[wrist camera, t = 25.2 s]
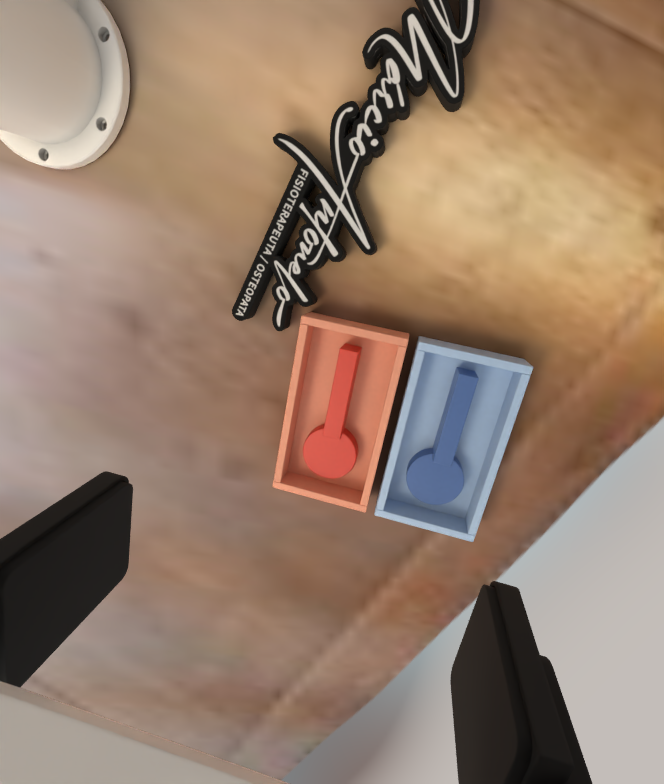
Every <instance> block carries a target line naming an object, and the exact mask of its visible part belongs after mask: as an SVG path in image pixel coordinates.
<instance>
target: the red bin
mask: <svg viewBox="0 0 664 784" xmlns="http://www.w3.org/2000/svg"><path fill="white" fill-rule="evenodd" d="M408 341H409V333H404V332H400V331H395V330H391V329H386V328H382V327H377V326H373V325H368V324H363V323H359V322H354V321H350V320H345V319H341V318H336V317H332V316H327V315H323V314H318V313H314V312H309V313H307V314H304V315H302V316H301V324H300V328H299V334H298V340H297V346H296V352H295V358H294V363H293V369H292V375H291V381H290V387H289V393H288V399H287V405H286V411H285V416H284V422H283V428H282V434H281V440H280V446H279V452H278V458H277V464H276V469H275V475H274V481H273V487H274V488H277V489H281V490H285V491H288V492H292V493H296V494H299V495H303V496H306V497H310V498H314V499H317V500H321V501H325V502H328V503H332V504H336V505H339V506H343V507H347V508H350V509H354V510H358V511H361V512H366V509H367V505H368V501H369V497H370V493H371V489H372V485H373V481H374V477H375V473H376V469H377V465H378V461H379V457H380V453H381V449H382V445H383V441H384V437H385V433H386V429H387V425H388V421H389V417H390V413H391V409H392V405H393V401H394V397H395V393H396V389H397V385H398V381H399V377H400V373H401V369H402V365H403V361H404V357H405V353H406V349H407V345H408ZM345 343H346V344H350V345H355V346H359V347H362V350H361V355H360V359H359V364H358V369H357V373H356V378H355V383H354V387H353V392H352V397H351V401H350V406H349V411H348V415H347V420H346V425H345V428H346V429H347V430H349V431H350V432H351V433H352V434H353V436H354V437H355V439H356V441H357V445H358V456H357V459H356V462H355V465H354V467H353V468H352V470H351V471H350V472H349V473H348V474H346V475H344V476H342V477H339V478H335V479H329V478H324V477H321V476H319V475H317V474H315V473H314V472H313V471H311V470H310V469H309V467H308V466H307V464H306V463H305V460H304V457H303V445H304V442H305V440H306V438H307V437H308V435H309V434H310V432H311V431H312V430H313V429H314V428H316V427H318V426H320V425H322V424H325V420H326V415H327V410H328V405H329V400H330V395H331V390H332V385H333V380H334V375H335V370H336V365H337V360H338V354H339V349H340V348H341V347H342V346H343V345H344V344H345Z"/></svg>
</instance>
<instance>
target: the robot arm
mask: <svg viewBox="0 0 664 784" xmlns="http://www.w3.org/2000/svg"><path fill="white" fill-rule="evenodd" d="M129 94H130V69H129V64H128V58H127V53H126V48H125V45H124V42H123V39H122V37H121V34H120V31H119V29H118V27H117V25H116V23H115V21H114V19H113V17H112V15H111V13H110V12H109V11H108V9H107V8H106V7H105V5H104V4H103V3H102V1H101V0H0V139H1V141H2V142H3V143H5V144H6V145H7V146H8V147H9V148H10V149H11V150H12V151H13V152H15V153H16V154H18V155H19V156H21V157H23V158H24V159H26V160H28V161H30V162H33V163H36V164H38V165H41V166H45V167H49V168H54V169H74V168H78V167H83V166H85V165H87V164H89V163H91V162H93V161H95V160H96V159H97V158H99V157H100V156H101V155H102V154H103V153H104V152H106V151H107V149H108V148H109V147H110V145H111V144H112V143H113V142H114V140H115V139H116V137H117V135H118V133H119V131H120V129H121V127H122V125H123V122H124V119H125V115H126V112H127V108H128V102H129ZM132 495H133V487H132V485H131V484H129V481H128V478H127V477H125V476H122V475H118V474H114V473H111V472H103V473H101V474H99V475H98V476H96V477H95V478H93V479H92V480H90V481H89V482H87V483H85V484H84V485H82V486H81V487H79V488H78V489H76V490H75V491H73V492H72V493H70V494H69V495H67V496H66V497H64V498H63V499H61V500H59V501H58V502H56V503H55V504H53V505H52V506H50V507H49V508H47V509H46V510H44V511H43V512H41V513H40V514H38V515H37V516H35V517H33V518H32V519H30V520H29V521H27V522H26V523H24V524H23V525H21V526H20V527H18V528H17V529H15V530H14V531H12V532H11V533H9V534H7V535H6V536H4V537H3V538H1V539H0V784H289V783H286V782H283V781H281V780H278V779H275V778H273V777H270V776H267V775H264V774H262V773H259V772H256V771H253V770H251V769H248V768H245V767H242V766H240V765H237V764H234V763H231V762H228V761H226V760H223V759H220V758H217V757H215V756H212V755H209V754H206V753H203V752H201V751H198V750H195V749H192V748H189V747H187V746H184V745H181V744H178V743H175V742H173V741H170V740H167V739H164V738H161V737H159V736H156V735H153V734H150V733H147V732H145V731H142V730H139V729H136V728H133V727H131V726H128V725H125V724H122V723H119V722H117V721H114V720H111V719H108V718H105V717H102V716H99V715H97V714H94V713H91V712H88V711H85V710H82V709H79V708H77V707H74V706H71V705H68V704H65V703H62V702H59V701H57V700H54V699H51V698H48V697H45V696H42V695H40V694H37V693H34V692H31V691H28V690H25V689H22V688H20V687H21V686H22V685H23V684H24V683H25V682H26V681H27V680H28V679H29V677H30V676H31V675H32V674H33V673H34V672H35V671H36V670H37V669H38V668H39V667H40V666H41V665H42V664H43V663H44V662H45V661H46V659H47V658H48V657H49V656H50V655H51V654H52V653H53V652H54V651H55V650H56V649H57V648H58V647H59V646H60V645H61V644H62V642H63V641H64V640H65V639H66V638H67V637H68V636H69V635H70V634H71V633H72V632H73V631H74V630H75V629H76V628H77V627H78V626H79V624H80V623H81V622H82V621H83V620H84V619H85V618H86V617H87V616H88V615H89V614H90V613H91V612H92V611H93V610H94V609H95V607H96V606H97V605H98V604H99V603H100V602H101V601H102V600H103V599H104V598H105V597H106V596H107V595H108V594H109V593H110V592H111V591H112V589H113V588H114V587H115V586H116V585H117V584H118V583H119V582H120V581H121V580H122V579H123V577H124V576H125V574H126V572H127V569H128V563H129V546H130V529H131V512H132ZM451 693H452V706H453V718H454V731H455V743H456V755H457V768H458V780H459V784H592V781H591V778H590V775H589V772H588V769H587V767H586V764H585V760H584V758H583V755H582V752H581V749H580V746H579V743H578V740H577V737H576V734H575V731H574V728H573V725H572V722H571V720H570V716H569V713H568V710H567V707H566V704H565V702H564V699H563V696H562V693H561V690H560V687H559V684H558V681H557V678H556V675H555V672H554V669H553V666H552V664H551V662H550V660H549V659H548V658H547V657H545V656H541V655H539V651H538V648H537V645H536V642H535V639H534V636H533V633H532V630H531V626H530V623H529V620H528V617H527V614H526V610H525V608H524V604H523V601H522V598H521V595H520V591H519V589H518V588H517V587H513V586H510V585H507V584H503V583H499V582H496V581H492V582H491V584H490V586H487V585H483V586H482V588H481V590H480V593H479V595H478V598H477V601H476V604H475V606H474V609H473V612H472V614H471V617H470V620H469V623H468V625H467V628H466V631H465V634H464V637H463V639H462V642H461V645H460V647H459V650H458V653H457V656H456V658H455V661H454V664H453V667H452V671H451Z"/></svg>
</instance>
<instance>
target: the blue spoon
mask: <svg viewBox="0 0 664 784" xmlns="http://www.w3.org/2000/svg"><path fill="white" fill-rule="evenodd" d="M478 380H479V378H478V376H477V374H476V372H475V371H472V370H468V369H464V368H460V367H456V370H455V374H454V377H453V380H452V384H451V387H450V391H449V394H448V397H447V401H446V404H445V407H444V411H443V414H442V418H441V421H440V424H439V428H438V431H437V435H436V438H435V441H434V445H433V448H427V449H424V450H421V451H419V452H418V453H416V454H415V455H414V456H413V457H412V458H411V459H410V461H409V463H408V466H407V472H406V482H407V486H408V489H409V490H410V492H411V493H412V495H413V496H414V497H416V498H417V499H418V500H420V501H421V502H424V503H426V504H430V505H442V504H446V503H449V502H451V501H452V500H454V499H455V498H456V497H457V496H458V495H459V494H460V493H461V491H462V489H463V486H464V474H463V469H462V466H461V463H460V462H459V460H458V459H457V458H456V457H455V453H456V450H457V447H458V444H459V441H460V437H461V434H462V431H463V428H464V425H465V422H466V418H467V415H468V412H469V409H470V406H471V402H472V399H473V396H474V393H475V390H476V387H477V383H478Z"/></svg>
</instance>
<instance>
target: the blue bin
mask: <svg viewBox="0 0 664 784" xmlns="http://www.w3.org/2000/svg"><path fill="white" fill-rule="evenodd" d="M456 367H460V368H464V369H468V370H472V371H475V372H476V374H477V376H478V378H479V380H478V383H477V387H476V390H475V393H474V396H473V399H472V402H471V406H470V409H469V412H468V415H467V418H466V422H465V425H464V428H463V431H462V434H461V437H460V441H459V444H458V447H457V450H456V453H455V457H456V458H457V459H458V460H459V462H460V463H461V466H462V469H463V474H464V486H463V489H462V491H461V493H460V494H459V495H458V496H457V497H456V498H455V499H454V500H452V501H451V502H449V503H446V504H442V505H430V504H426V503H424V502H421V501H420V500H418V499H417V498H416V497H414V496H413V495H412V493H411V492H410V490H409V489H408V486H407V482H406V472H407V466H408V463H409V461H410V459H411V458H412V457H413V456H414V455H415V454H416V453H418V452H419V451H421V450H424V449H427V448H433V445H434V441H435V438H436V435H437V431H438V428H439V424H440V421H441V418H442V414H443V411H444V407H445V404H446V401H447V397H448V394H449V391H450V387H451V384H452V380H453V377H454V374H455V370H456ZM532 370H533V366H531V365H530V364H529V363H528V362H527V361H526V360H525V359H522V358H517V357H513V356H508V355H504V354H499V353H495V352H490V351H486V350H481V349H477V348H472V347H468V346H463V345H458V344H454V343H449V342H445V341H440V340H436V339H431V338H427V337H422V336H419V337H418V341H417V345H416V348H415V352H414V356H413V360H412V364H411V368H410V372H409V376H408V380H407V384H406V388H405V391H404V395H403V399H402V403H401V407H400V411H399V415H398V419H397V423H396V427H395V431H394V435H393V438H392V442H391V446H390V450H389V454H388V458H387V462H386V466H385V470H384V474H383V478H382V481H381V485H380V489H379V493H378V497H377V502H376V508H375V515H376V516H379V517H383V518H387V519H390V520H394V521H398V522H401V523H405V524H409V525H412V526H416V527H420V528H423V529H427V530H431V531H434V532H438V533H441V534H445V535H449V536H452V537H456V538H460V539H463V540H467V541H471V542H473V541H474V538H475V535H476V532H477V529H478V527H479V524H480V521H481V518H482V515H483V512H484V509H485V506H486V503H487V500H488V498H489V495H490V492H491V489H492V486H493V483H494V480H495V477H496V474H497V471H498V469H499V466H500V463H501V460H502V457H503V454H504V451H505V448H506V445H507V442H508V440H509V437H510V434H511V431H512V428H513V425H514V422H515V419H516V416H517V413H518V411H519V408H520V405H521V402H522V399H523V396H524V393H525V390H526V387H527V384H528V382H529V379H530V375H531V373H532Z"/></svg>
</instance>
